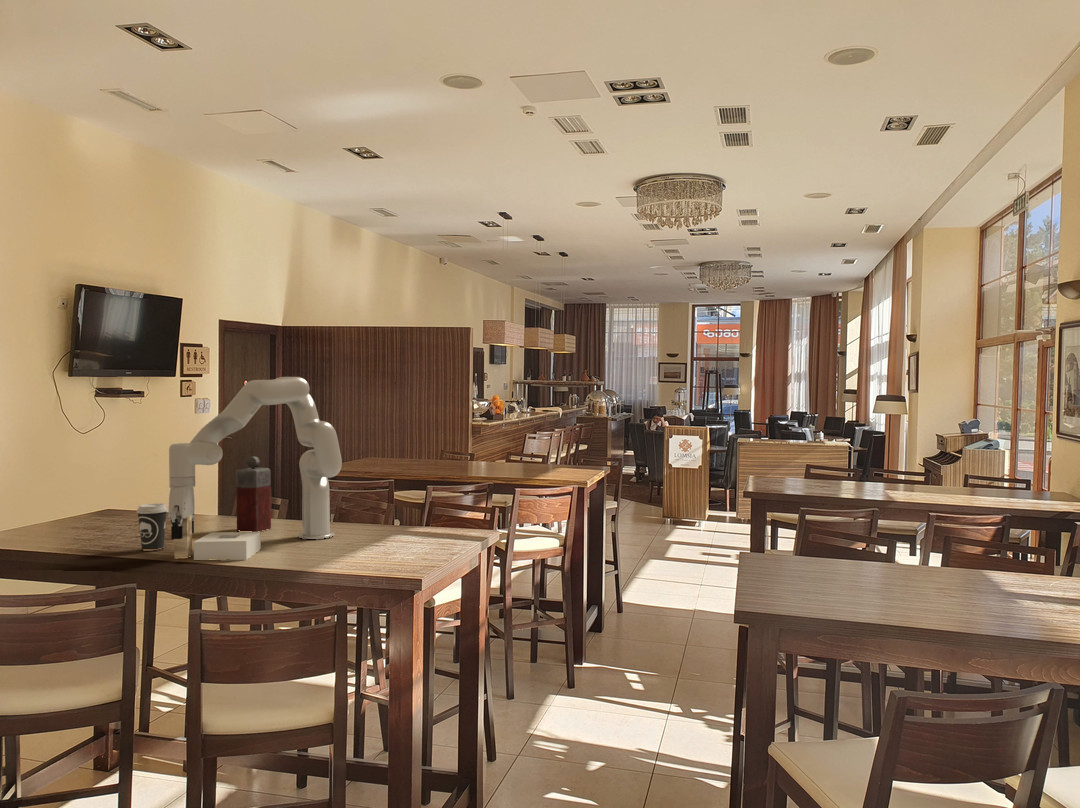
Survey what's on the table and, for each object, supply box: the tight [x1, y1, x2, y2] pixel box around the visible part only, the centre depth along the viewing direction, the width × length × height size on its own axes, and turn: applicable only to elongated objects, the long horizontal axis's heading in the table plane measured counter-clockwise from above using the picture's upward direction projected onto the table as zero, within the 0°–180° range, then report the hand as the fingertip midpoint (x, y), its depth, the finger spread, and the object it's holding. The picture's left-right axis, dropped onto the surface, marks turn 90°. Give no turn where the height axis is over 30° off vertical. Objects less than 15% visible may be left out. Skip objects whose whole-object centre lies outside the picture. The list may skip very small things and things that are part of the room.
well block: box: [193, 531, 262, 561], centre depth 255 cm, size 16×16×6 cm
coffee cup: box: [135, 503, 169, 550], centre depth 263 cm, size 10×10×15 cm
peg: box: [173, 515, 193, 558], centre depth 250 cm, size 4×4×15 cm
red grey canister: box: [235, 456, 272, 532], centre depth 300 cm, size 9×11×28 cm
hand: (182, 536), depth 250 cm, fingers open, 9 cm apart
